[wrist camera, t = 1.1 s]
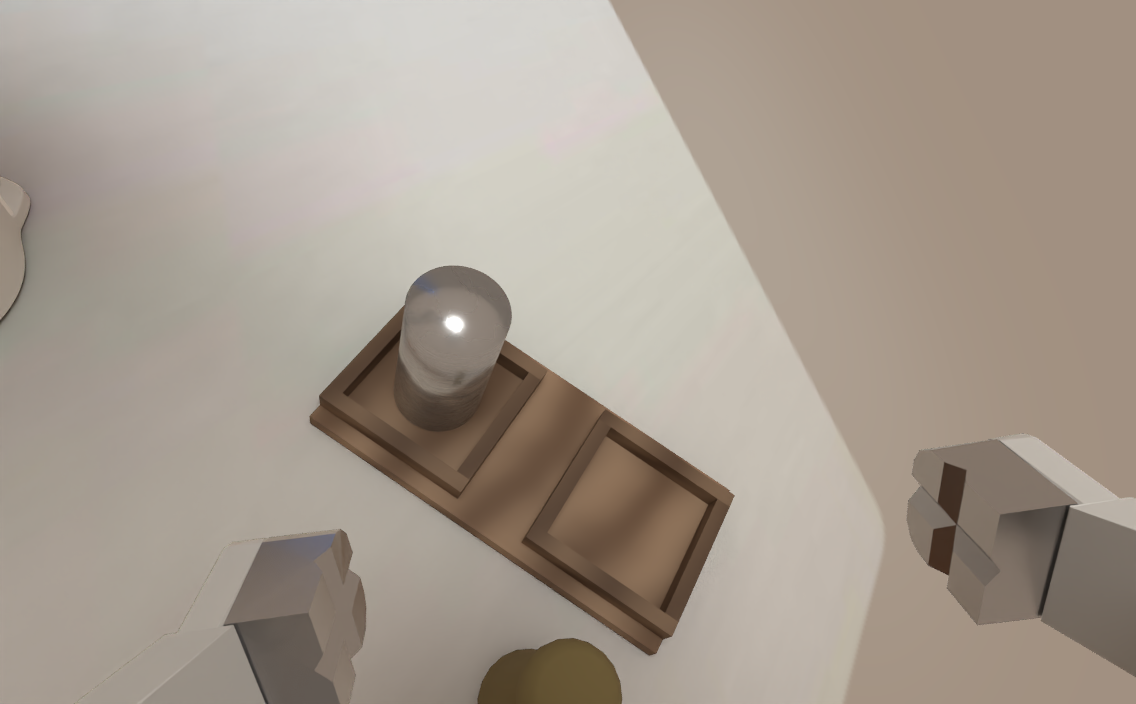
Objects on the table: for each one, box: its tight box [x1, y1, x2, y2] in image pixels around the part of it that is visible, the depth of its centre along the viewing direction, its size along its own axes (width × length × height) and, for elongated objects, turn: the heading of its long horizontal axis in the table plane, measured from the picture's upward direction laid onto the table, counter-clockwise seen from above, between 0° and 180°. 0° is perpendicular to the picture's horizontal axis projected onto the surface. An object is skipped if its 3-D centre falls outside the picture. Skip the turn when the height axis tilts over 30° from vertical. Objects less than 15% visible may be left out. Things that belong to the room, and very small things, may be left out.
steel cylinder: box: [394, 266, 512, 432], centre depth 43 cm, size 6×6×11 cm
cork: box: [478, 638, 622, 704], centre depth 37 cm, size 6×6×11 cm
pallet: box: [310, 305, 735, 655], centre depth 48 cm, size 27×13×3 cm, turn 59°
